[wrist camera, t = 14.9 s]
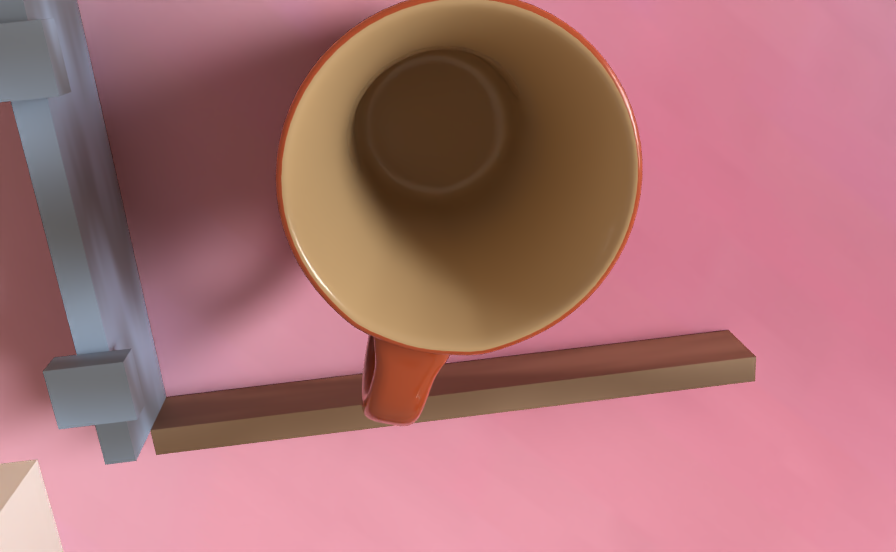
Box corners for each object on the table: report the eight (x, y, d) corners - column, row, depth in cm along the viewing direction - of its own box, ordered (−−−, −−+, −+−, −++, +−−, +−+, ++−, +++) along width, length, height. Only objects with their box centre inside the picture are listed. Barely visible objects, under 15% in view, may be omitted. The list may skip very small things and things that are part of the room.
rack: (718, 681, 40) (771, 787, 34) (207, 755, 38) (182, 877, 33) (742, -146, 28) (828, -174, 22) (2, -82, 26) (-88, -96, 21)
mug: (336, -46, 28) (320, -58, 18) (586, 27, 29) (696, 51, 19) (263, 290, 31) (217, 430, 21) (489, 339, 33) (541, 490, 23)
